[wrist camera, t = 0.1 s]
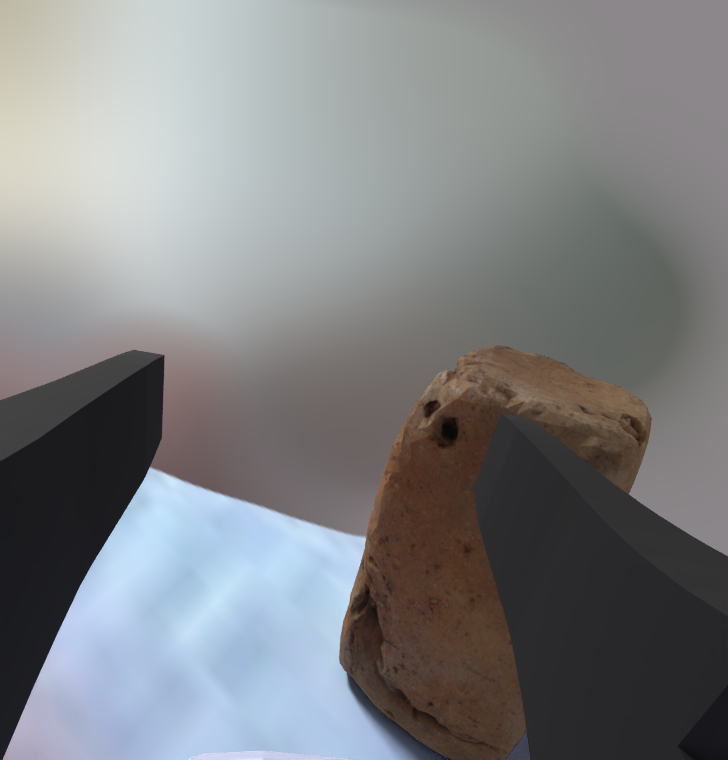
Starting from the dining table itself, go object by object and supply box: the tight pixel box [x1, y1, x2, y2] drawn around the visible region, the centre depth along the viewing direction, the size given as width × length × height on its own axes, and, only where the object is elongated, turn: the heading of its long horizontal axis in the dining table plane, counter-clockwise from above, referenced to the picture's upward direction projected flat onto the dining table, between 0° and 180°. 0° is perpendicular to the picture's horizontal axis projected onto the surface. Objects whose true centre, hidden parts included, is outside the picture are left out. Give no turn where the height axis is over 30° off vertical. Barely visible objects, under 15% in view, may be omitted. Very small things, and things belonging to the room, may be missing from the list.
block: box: [339, 346, 652, 760], centre depth 27 cm, size 11×8×20 cm
